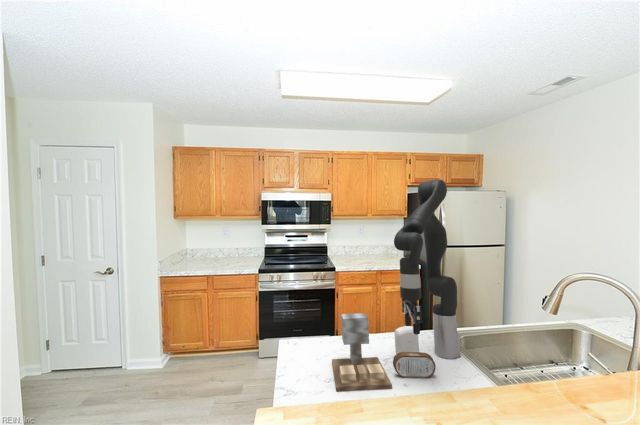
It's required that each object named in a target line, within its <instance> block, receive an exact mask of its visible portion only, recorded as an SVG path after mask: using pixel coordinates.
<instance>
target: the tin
mask: <svg viewBox="0 0 640 425" xmlns="http://www.w3.org/2000/svg"><path fill="white" fill-rule="evenodd" d="M392 366H393V368H394V371H395V372H396V374H397V375H399V376H400V377H402V378H412V379H413V378H414V379H415V378H416V379H419V378H420V379H427V378H431V377H432V376H434V374H435V372H436V366H437V365H436V362H435V361H434V358H433V357H432V355H430V354H428V353H426V352H423V351H422V352H421V351H419V352H400V353H398V354H396V353H395V355H394V357H393V359H392Z"/></svg>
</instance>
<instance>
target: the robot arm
mask: <svg viewBox="0 0 640 425" xmlns="http://www.w3.org/2000/svg"><path fill="white" fill-rule="evenodd" d="M447 193H448V188H447V185H446V182H445V181H444V180H443V179H433V180H428V181H422V182H419V184H418V186H417V196H418V202H419V206H418V207H417V208H416V209H415V210H413V212H412V213H411V214H410V216H409V218H408V221H407V222H406V223H405V224H404V225H403V226H402V227H401V228H400V229H399V230H398V231H397V232H396V234H395V235H394V238H393V245H394V247H395V249H396V250H398V251H401V252H409V255H408V256H404V257H401V258H400V259H399V296H400V298H401V311H402V313H403V316H404V326H413V333H414V334H418V335H420V334H421V326H420V325H421V324H423V308H422V305H419V304H418V301H419V300H421V299H422V284H421V283H422V281H421V276H420V258H421V255H422V250H423V246H424V247H425V255H426V256H425V257H426V258H425V259H426V287H427V290H428V292H429V293H430V294H431V295H432V296H435V297H439V298H440V303H436V304H433V306H432V321H433V323H432V324H433V325H432V326H433V340H434V342H433V343H434V353H435V355H436V356H438V357H440V358H441V359H448V360H449V359H450V360H452V359H458V358H459V357H461V356H462V355H461V341H460V339H461V338H460V333H459V332H458V326H457V325H458V324H457V308H458V285H457V283H456V280H455V279H454V278H453V277H451V276H448V275H447V276H445V275H442V274H441V272H442V271H441V263H442V260H443V257H444V256H445V253H446V251H447V248H448V236H447V235H448V234H447V230H446V228H445V226H444V225H443V224H442V222H441V220H439V218H438V217H437V216H436V214H435V212H436V211H437V209H438V208H439V207H440V205H441V203H443V201H444V200H445V198H446V197H447ZM422 234H423V237H424V239H423V237H422Z"/></svg>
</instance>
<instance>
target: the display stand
mask: <svg viewBox="0 0 640 425" xmlns="http://www.w3.org/2000/svg"><path fill="white" fill-rule="evenodd" d="M341 338H342V343H343V345H344V346H347V345H349V354H350V356H349V357H350V358H332V359H331V361H332V362H331V364H332V371H333V376H334V382H335V388H336V392H354V391H355V392H356V391H358V392H359V391H375V390H376V391H377V390H392V389H393V383H392V382H391V379H390V378H389V376H388V374H387V373H386V370H385V368H384V367H383V365H382V362H381V361H380V359H379V357H378V356H372V357H371V356H370V357H362V355H363V354H362V353H363V352H362V345H368V344H370V331H369V317H368V315H367V314H366V312H363V313H342V314H341Z"/></svg>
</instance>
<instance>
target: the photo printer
mask: <svg viewBox="0 0 640 425" xmlns="http://www.w3.org/2000/svg"><path fill="white" fill-rule="evenodd" d="M419 341H420V340H419V334H414V333H413V325H411V326H406V325H404V326H400V327H398V328H396V329H394V344H395V345H394V347H395V355H396V354H398V353H400V352H420V343H419Z"/></svg>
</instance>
